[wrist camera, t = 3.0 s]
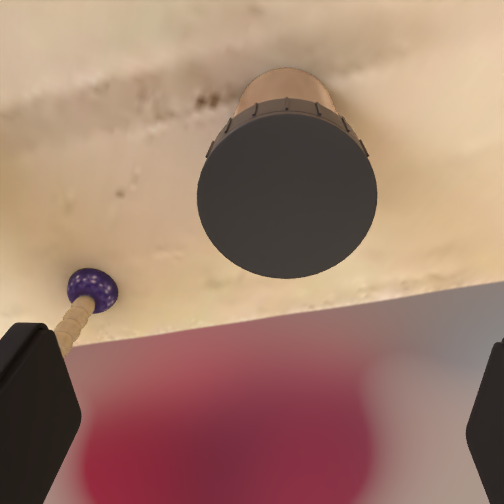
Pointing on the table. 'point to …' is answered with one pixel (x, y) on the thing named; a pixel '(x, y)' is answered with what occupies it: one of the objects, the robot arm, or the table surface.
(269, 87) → the jar
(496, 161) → the table surface
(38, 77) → the table surface
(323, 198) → the cap
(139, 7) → the table surface
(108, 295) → the toy lamp
